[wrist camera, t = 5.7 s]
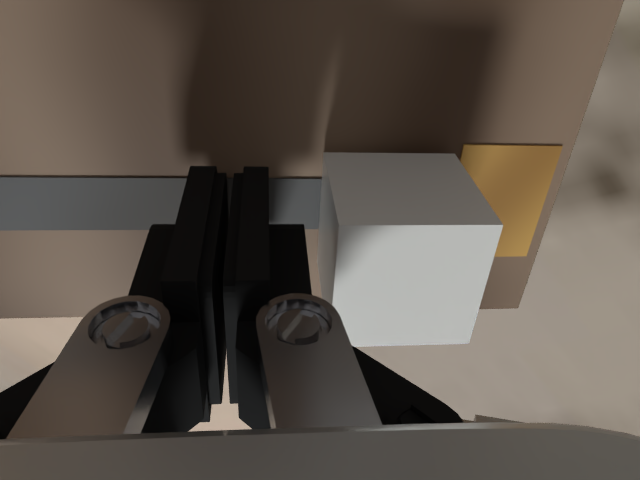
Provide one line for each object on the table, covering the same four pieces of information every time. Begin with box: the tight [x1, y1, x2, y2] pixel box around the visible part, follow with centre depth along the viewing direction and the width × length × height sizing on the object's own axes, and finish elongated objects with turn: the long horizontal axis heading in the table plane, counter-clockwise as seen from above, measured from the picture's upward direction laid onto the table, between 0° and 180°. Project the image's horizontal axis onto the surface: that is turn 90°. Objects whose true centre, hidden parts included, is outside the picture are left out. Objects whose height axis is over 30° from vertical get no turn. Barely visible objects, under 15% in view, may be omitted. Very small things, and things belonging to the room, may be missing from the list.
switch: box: [317, 152, 503, 347], centre depth 12 cm, size 3×3×3 cm
